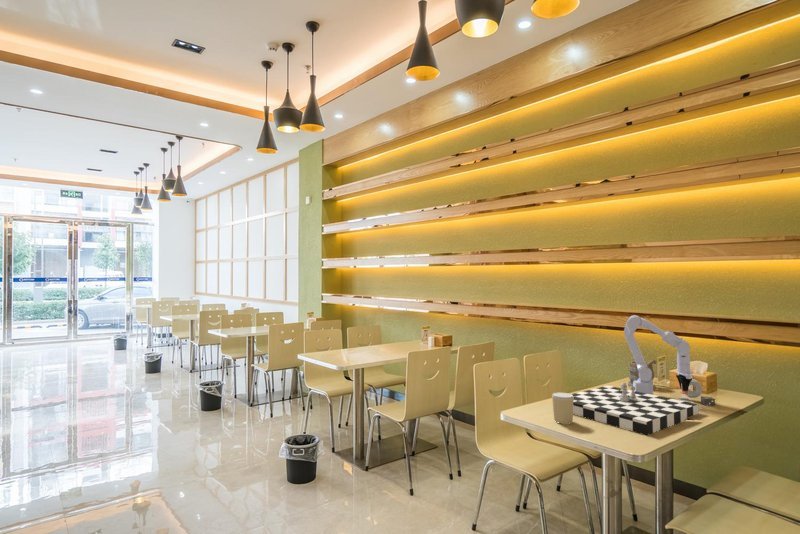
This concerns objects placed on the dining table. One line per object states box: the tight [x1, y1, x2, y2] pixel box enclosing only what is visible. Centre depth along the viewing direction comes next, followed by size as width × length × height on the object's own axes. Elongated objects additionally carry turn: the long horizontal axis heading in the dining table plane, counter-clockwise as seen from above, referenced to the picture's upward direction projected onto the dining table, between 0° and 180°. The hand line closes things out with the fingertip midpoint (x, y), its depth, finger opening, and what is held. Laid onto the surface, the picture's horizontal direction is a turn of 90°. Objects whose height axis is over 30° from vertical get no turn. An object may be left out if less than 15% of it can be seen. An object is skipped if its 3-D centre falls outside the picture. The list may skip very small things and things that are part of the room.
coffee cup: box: [551, 391, 574, 425], centre depth 203 cm, size 9×9×12 cm
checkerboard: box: [571, 382, 699, 436], centre depth 217 cm, size 45×45×15 cm
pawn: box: [679, 384, 689, 395], centre depth 234 cm, size 4×4×7 cm
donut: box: [684, 378, 704, 398], centre depth 243 cm, size 10×4×10 cm, turn 42°
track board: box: [677, 397, 703, 410], centre depth 227 cm, size 7×21×1 cm, turn 166°
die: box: [700, 395, 716, 407], centre depth 225 cm, size 4×5×5 cm
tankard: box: [627, 359, 658, 388], centre depth 269 cm, size 20×13×15 cm, turn 109°
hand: (684, 390), depth 234 cm, fingers closed on pawn, 3 cm apart
